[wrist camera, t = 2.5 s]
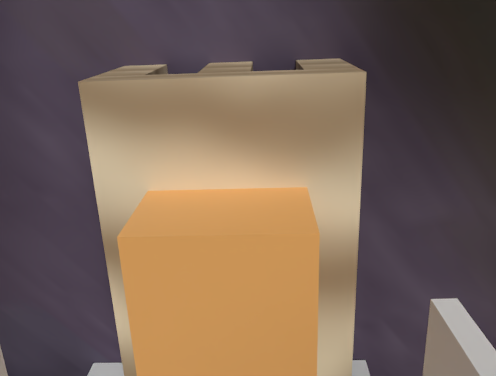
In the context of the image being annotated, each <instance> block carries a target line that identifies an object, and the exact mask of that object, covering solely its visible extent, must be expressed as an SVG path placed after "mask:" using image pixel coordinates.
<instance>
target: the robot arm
mask: <svg viewBox="0 0 496 376" xmlns="http://www.w3.org/2000/svg"><path fill="white" fill-rule="evenodd" d="M0 376H8V374H7V370H6V366H5V362H4V358H3V355H2V351H1V347H0ZM423 376H496V350H495V349H494V348H493V346H492V345H491V344H490V342H489V341H488V340H487V338H486V337H485V335H484V334H483V333H482V331H481V330H480V329H479V327H478V326H477V325H476V323H475V322H474V321H473V319H472V318H471V317H470V315H469V314H468V312H467V311H466V310H465V308H464V307H463V306H462V304H461V303H460V302H459V300H458V299H457V298H456V299H431V302H430V311H429V321H428V330H427V339H426V349H425V358H424V367H423Z"/></svg>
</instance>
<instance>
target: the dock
mask: <svg viewBox="0 0 496 376" xmlns="http://www.w3.org/2000/svg"><path fill="white" fill-rule="evenodd" d="M88 376H124V371H123V365H122V363H93V365H92V367H91V369H90V371H89V374H88ZM352 376H370V374H369V370H368V367H367V364H366V360H352Z"/></svg>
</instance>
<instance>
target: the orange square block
mask: <svg viewBox="0 0 496 376" xmlns="http://www.w3.org/2000/svg"><path fill="white" fill-rule="evenodd" d="M117 242H118V249H119V256H120V263H121V270H122V277H123V284H124V291H125V297H126V304H127V311H128V318H129V325H130V332H131V339H132V346H133V353H134V360H135V367H136V374H137V376H317V347H318V295H319V244H320V233H319V229H318V225H317V222H316V218H315V214H314V211H313V207H312V203H311V200H310V196H309V192H308V188H307V187H290V188H247V189H204V190H161V191H147V193H146V194H145V196H144V197H143V199H142V200H141V202H140V203H139V205H138V206H137V208H136V209H135V211H134V212H133V214H132V215H131V217H130V218H129V220H128V221H127V223H126V224H125V226H124V227H123V229H122V230H121V232H120V233H119V235H118V236H117Z"/></svg>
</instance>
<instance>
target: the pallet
mask: <svg viewBox="0 0 496 376" xmlns="http://www.w3.org/2000/svg"><path fill="white" fill-rule="evenodd" d="M366 74H367V72H365V71H363V70H361V69H359V68H357V67H355V66H353V65H351V64H349V63H348V62H346V61H344V60H342V59H340V58H339V59H311V60H296V70H279V71H253V62H225V63H209V64H208V65H207V66H205V67H204V68H203V69H202V70H201V71H200V72H198V73H192V74H168V72H167V65H139V66H123V67H120V68H117V69H114V70H111V71H108V72H105V73H103V74H100V75H97V76H94V77H91V78H88V79H85V80H82V81H79V82H78V85H79V92H80V98H81V104H82V111H83V117H84V123H85V130H86V136H87V142H88V149H89V155H90V162H91V168H92V174H93V181H94V187H95V193H96V200H97V206H98V212H99V219H100V225H101V232H102V238H103V244H104V251H105V257H106V263H107V270H108V276H109V282H110V289H111V295H112V301H113V308H114V314H115V321H116V327H117V333H118V340H119V346H120V352H121V359H122V365H123V371H124V376H137V374H136V367H135V360H134V353H133V346H132V339H131V332H130V325H129V318H128V311H127V304H126V297H125V291H124V284H123V277H122V270H121V263H120V256H119V249H118V242H117V236H118V235H119V233H120V232H121V230H122V229H123V227H124V226H125V224H126V223H127V221H128V220H129V218H130V217H131V215H132V214H133V212H134V211H135V209H136V208H137V206H138V205H139V203H140V202H141V200H142V199H143V197H144V196H145V194H146V193H147V191H161V190H204V189H247V188H290V187H307V188H308V192H309V196H310V200H311V203H312V207H313V211H314V214H315V218H316V222H317V225H318V229H319V233H320V244H319V295H318V347H317V376H352V359H353V339H354V319H355V298H356V278H357V257H358V237H359V217H360V196H361V176H362V155H363V135H364V115H365V94H366Z"/></svg>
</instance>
